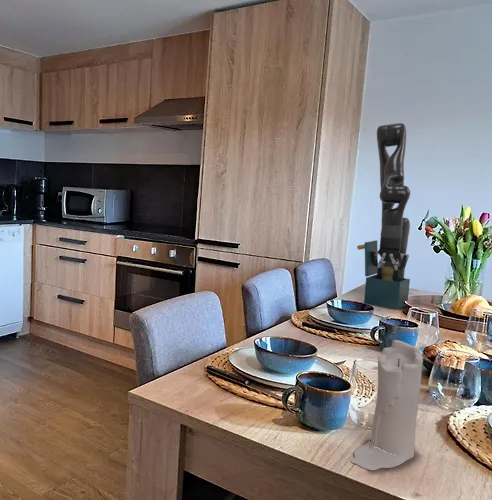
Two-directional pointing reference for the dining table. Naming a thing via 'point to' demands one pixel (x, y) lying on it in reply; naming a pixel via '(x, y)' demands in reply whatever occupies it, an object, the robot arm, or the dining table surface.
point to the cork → (387, 273)
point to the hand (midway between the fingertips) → (387, 278)
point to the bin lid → (369, 257)
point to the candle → (394, 408)
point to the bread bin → (386, 292)
